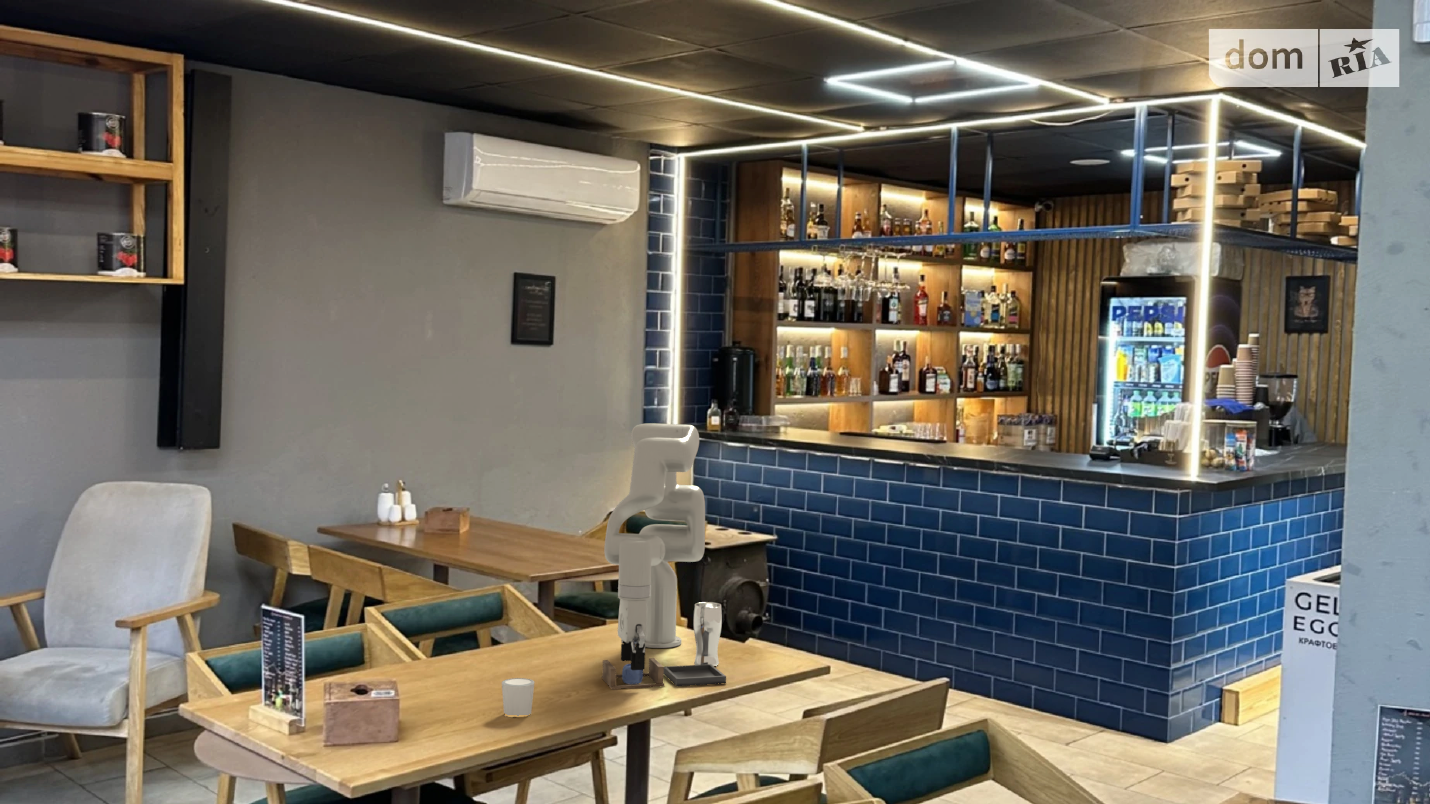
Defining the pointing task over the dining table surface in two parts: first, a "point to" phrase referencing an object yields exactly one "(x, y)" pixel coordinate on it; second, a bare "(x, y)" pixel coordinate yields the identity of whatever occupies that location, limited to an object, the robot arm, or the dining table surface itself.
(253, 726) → the dining table surface
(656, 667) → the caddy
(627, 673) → the decorative dice
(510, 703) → the white cup
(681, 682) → the tray
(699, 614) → the beer glass
